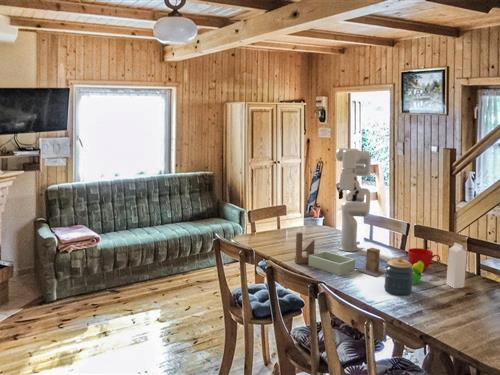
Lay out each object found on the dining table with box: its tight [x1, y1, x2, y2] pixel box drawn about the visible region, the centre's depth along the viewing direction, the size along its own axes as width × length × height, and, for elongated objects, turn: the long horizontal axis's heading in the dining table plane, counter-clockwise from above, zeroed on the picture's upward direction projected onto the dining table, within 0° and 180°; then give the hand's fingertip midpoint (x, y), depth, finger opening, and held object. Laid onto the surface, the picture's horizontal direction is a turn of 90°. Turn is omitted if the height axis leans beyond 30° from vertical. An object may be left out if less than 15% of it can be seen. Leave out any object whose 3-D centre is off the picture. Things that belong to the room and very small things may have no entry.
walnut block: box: [365, 247, 381, 272], centre depth 252 cm, size 5×5×12 cm
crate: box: [307, 250, 356, 276], centre depth 258 cm, size 14×22×6 cm, turn 42°
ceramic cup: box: [407, 247, 441, 271], centre depth 257 cm, size 13×17×10 cm
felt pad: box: [355, 265, 386, 278], centre depth 253 cm, size 13×13×1 cm
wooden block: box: [294, 231, 315, 265], centre depth 266 cm, size 4×11×18 cm, turn 104°
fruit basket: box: [411, 261, 424, 285], centre depth 237 cm, size 11×9×11 cm
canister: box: [383, 255, 413, 297], centre depth 222 cm, size 13×13×18 cm
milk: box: [445, 242, 468, 289], centre depth 230 cm, size 6×6×22 cm
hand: (347, 199), depth 268 cm, fingers open, 9 cm apart
